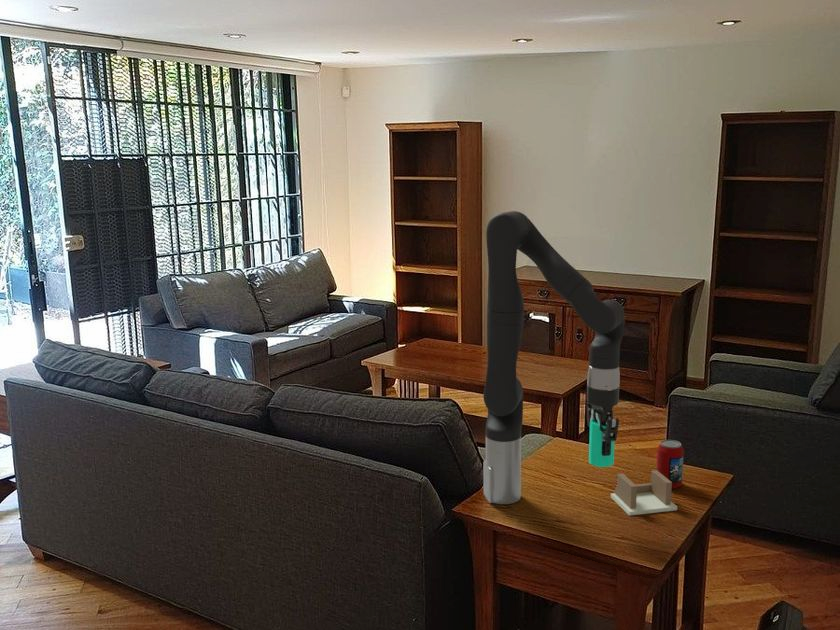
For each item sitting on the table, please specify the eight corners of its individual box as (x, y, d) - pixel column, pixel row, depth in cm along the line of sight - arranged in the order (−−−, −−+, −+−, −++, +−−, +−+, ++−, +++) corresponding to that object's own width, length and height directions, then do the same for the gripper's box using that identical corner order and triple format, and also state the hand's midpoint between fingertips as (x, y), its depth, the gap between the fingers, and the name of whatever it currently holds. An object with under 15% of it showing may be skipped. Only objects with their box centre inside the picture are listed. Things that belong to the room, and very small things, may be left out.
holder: (629, 515, 200) (630, 489, 198) (610, 497, 210) (611, 472, 209) (677, 510, 202) (678, 484, 201) (656, 492, 213) (657, 467, 211)
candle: (612, 457, 197) (613, 411, 195) (615, 467, 191) (617, 419, 189) (587, 457, 198) (588, 411, 195) (590, 466, 192) (591, 419, 189)
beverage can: (678, 492, 213) (680, 449, 210) (652, 486, 216) (654, 445, 214) (684, 482, 218) (687, 441, 216) (659, 477, 222) (661, 437, 219)
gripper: (576, 376, 197) (575, 441, 200) (600, 393, 183) (598, 463, 186) (605, 374, 198) (603, 439, 202) (631, 391, 184) (628, 460, 188)
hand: (600, 450), depth 194 cm, fingers closed on candle, 5 cm apart
